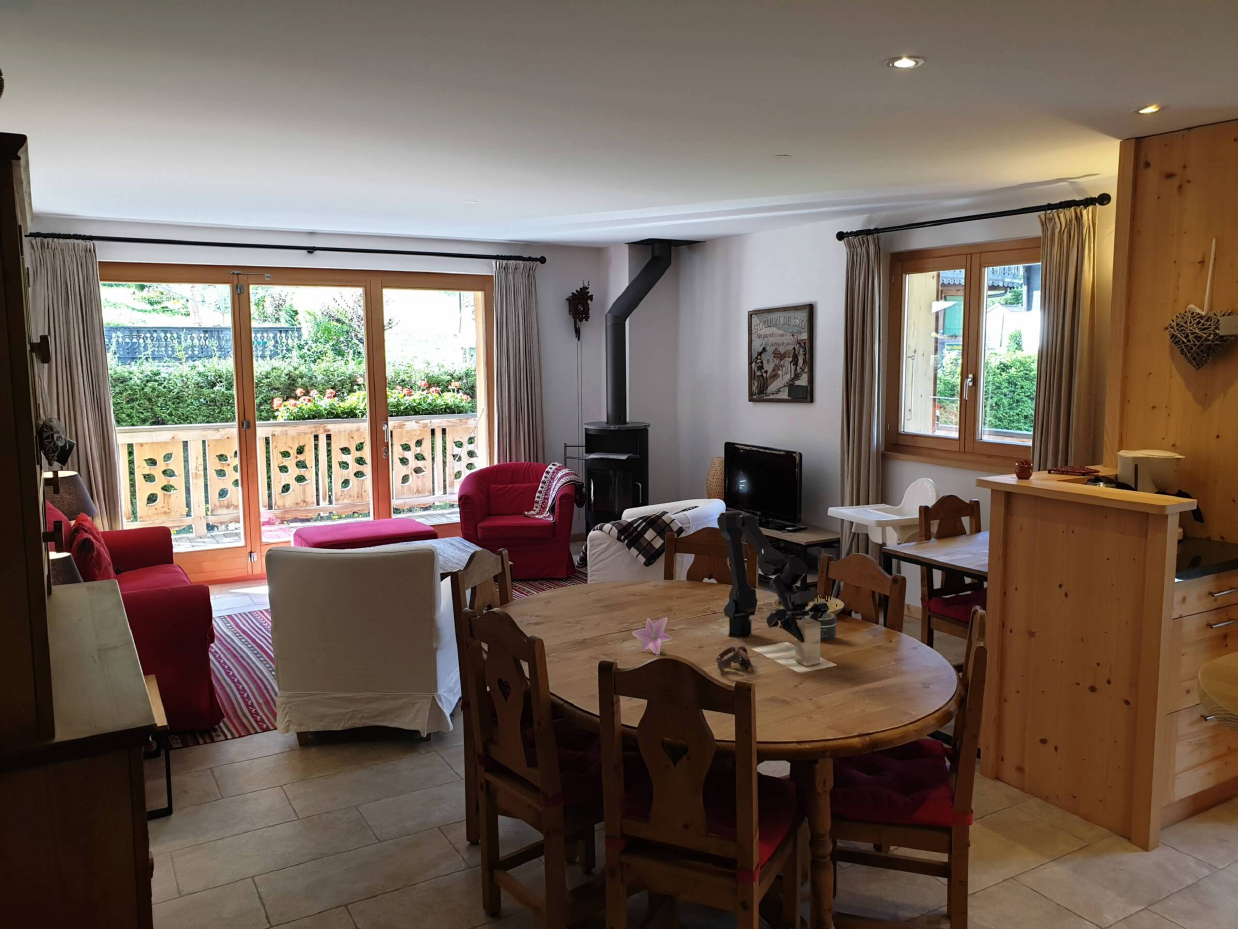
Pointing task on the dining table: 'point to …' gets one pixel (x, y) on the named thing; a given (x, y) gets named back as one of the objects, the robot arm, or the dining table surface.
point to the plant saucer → (830, 603)
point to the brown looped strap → (734, 658)
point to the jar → (827, 626)
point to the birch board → (789, 657)
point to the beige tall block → (808, 642)
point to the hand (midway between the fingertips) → (810, 640)
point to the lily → (652, 635)
